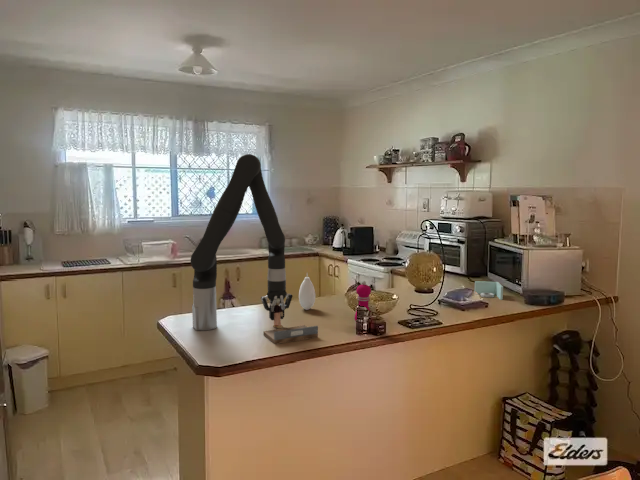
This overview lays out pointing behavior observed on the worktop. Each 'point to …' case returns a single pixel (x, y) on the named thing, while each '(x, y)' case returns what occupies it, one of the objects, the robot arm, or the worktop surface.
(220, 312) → the worktop surface
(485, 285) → the l-shaped corner panel
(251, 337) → the worktop surface
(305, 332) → the price rail
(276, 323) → the grandmother figurine
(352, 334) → the worktop surface
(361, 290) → the pepper mill
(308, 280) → the sauce bottle
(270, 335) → the shelf board
